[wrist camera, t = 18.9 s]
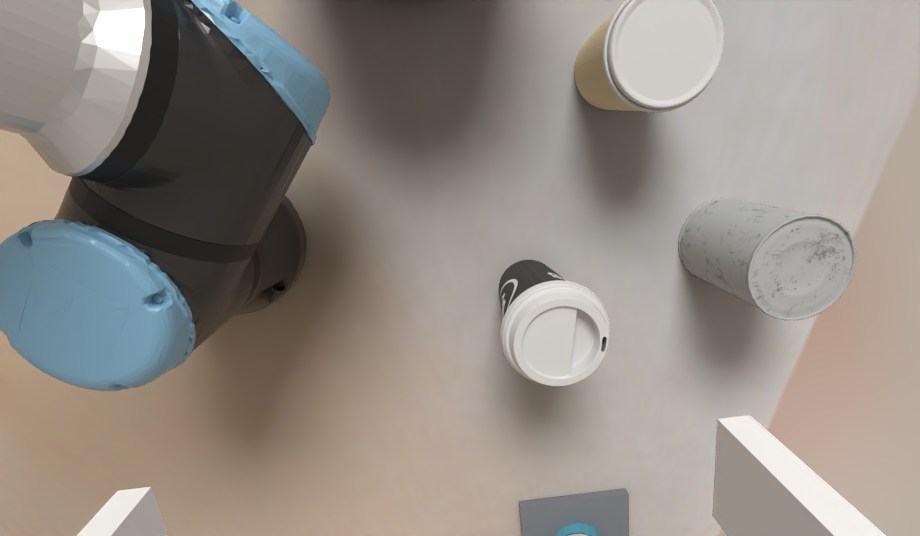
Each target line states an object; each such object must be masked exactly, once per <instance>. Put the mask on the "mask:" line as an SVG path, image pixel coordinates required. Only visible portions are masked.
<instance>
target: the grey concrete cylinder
mask: <svg viewBox="0 0 920 536" xmlns="http://www.w3.org/2000/svg"><path fill="white" fill-rule="evenodd" d="M678 249H679V255H680V258H681V261H682V263H683V265H684V266H685V268H686V269H687V270H688V271H689V272H690V273H691V274H693V275H694V276H696V277H698V278H700V279H703V280H706V281H707V282H709V283H711V284H713V285H715V286H717V287H719V288H721V289H723V290H725V291H726V292H728V293H730V294H732V295H734V296H736V297H738V298H740V299H742V300H744V301H745V302H747V303H749V304H751V305H753V306H755V307H757V308H759V309H761V310H762V311H763V312H764V313H766V314H768V315H770V316H772V317H774V318H778V319H782V320H800V319H805V318H809V317H812V316H814V315H816V314H819V313H821V312H822V311H824V310H825V309H827V308H828V307H830V306H831V305H832V304H833V303H834V302H835V301H836V300H838V299H839V298H840V296H841V295H842V294H843V292H844V291H845V290H846V288H847V287H848V285H849V283H850V281H851V279H852V276H853V274H854V270H855V266H856V248H855V244H854V240H853V238H852V237H851V235H850V233H849V231H848V230H847V229H846V228H845V227H844V226H843V225H842V224H841V223H839V222H838V221H836V220H834V219H832V218H830V217H826V216H822V215H812V214H807V213H802V212H797V211H792V210H787V209H782V208H777V207H772V206H767V205H762V204H757V203H752V202H747V201H743V200H740V199H736V198H718V199H713V200H711V201H709V202H706V203H704V204H703V205H701V206H700V207H698V208H697V209H696V210H695V211H694V212H693V213H692V214H691V215H690V216H689V217H688V218H687V220H686V222H685V223H684V225H683V227H682V230H681V232H680V235H679V242H678Z"/></svg>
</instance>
